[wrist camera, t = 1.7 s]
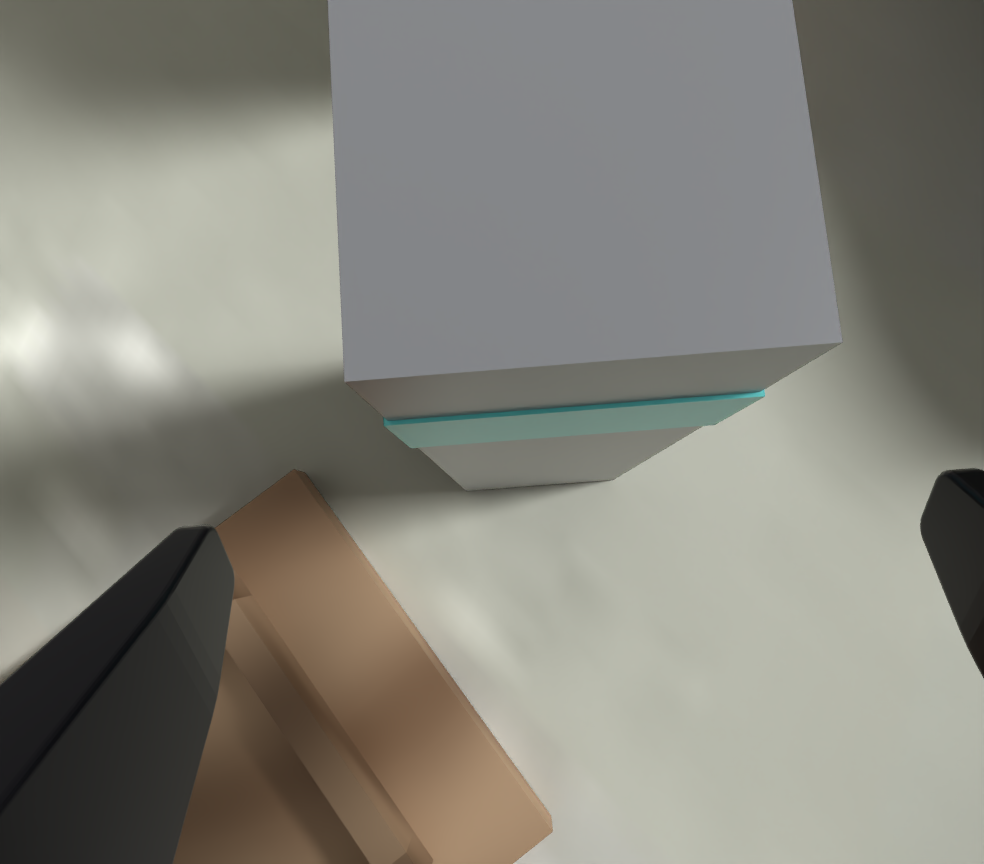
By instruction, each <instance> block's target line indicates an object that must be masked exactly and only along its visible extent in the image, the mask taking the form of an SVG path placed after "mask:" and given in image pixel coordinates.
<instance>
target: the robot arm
mask: <svg viewBox="0 0 984 864" xmlns="http://www.w3.org/2000/svg"><path fill="white" fill-rule="evenodd" d="M920 529H921V535H922V538H923V541H924V544H925V546H926V548H927V551H928V553H929V556H930V558H931V561H932V563H933V566H934V568H935V571H936V573H937V575H938V578H939V580H940V583H941V585H942V588H943V590H944V593H945V595H946V598H947V600H948V603H949V605H950V607H951V610H952V612H953V615H954V617H955V620H956V622H957V625H958V627H959V630H960V632H961V634H962V636H963V638H964V641H965V643H966V645H967V647H968V649H969V651H970V653H971V655H972V657H973V659H974V661H975V663H976V665H977V667H978V669H979V671H980V672H981V674H982V676H983V678H984V471H983V470H981V469H975V468H970V469H956V470H947V471H944V472H942V473H941V474H940V475H939V476H938V477H937V479H936V481H935V483H934V486H933V489H932V491H931V494H930V496H929V499H928V501H927V504H926V507H925V509H924V512H923V514H922V517H921V523H920ZM234 586H235V577H234V571H233V567H232V565H231V562H230V560H229V558H228V555H227V553H226V551H225V548H224V546H223V544H222V541H221V539H220V537H219V534H218V532H217V531H216V529H215V528H214V527H213V526H211V525H195V526H183V527H179V528H178V529H176V530H175V531H173V532H172V533H171V534H170V535H169V536H168V537H166V538H165V539H164V540H163V541H162V542H161V543H160V544H159V545H157V546H156V547H155V548H154V549H153V550H152V551H151V552H149V553H148V554H147V555H146V556H145V557H144V558H143V559H142V560H140V561H139V562H138V563H137V564H136V565H135V566H134V567H133V568H131V569H130V570H129V571H128V572H127V573H126V574H125V575H123V576H122V577H121V578H120V579H119V580H118V581H117V582H116V583H114V584H113V585H112V586H111V587H110V588H109V589H108V590H107V591H105V592H104V593H103V594H102V595H101V596H100V597H99V598H98V599H96V600H95V601H94V602H93V603H92V604H91V605H90V606H88V607H87V608H86V609H85V610H84V611H83V612H82V613H81V614H79V615H78V616H77V617H76V618H75V619H74V620H73V621H72V622H70V623H69V624H68V625H67V626H66V627H65V628H64V629H63V630H61V631H60V632H59V633H58V634H57V635H56V636H55V637H53V638H52V639H51V640H50V641H49V642H48V643H47V644H46V645H44V646H43V647H42V648H41V649H40V650H39V651H38V652H37V653H35V654H34V655H33V656H32V657H31V658H30V659H29V660H28V661H26V662H25V663H24V664H23V665H22V666H21V667H20V668H18V669H17V670H16V671H15V672H14V673H13V674H12V675H11V676H9V677H8V678H7V679H6V680H5V681H4V682H3V683H2V684H0V864H173V861H174V857H175V854H176V850H177V846H178V843H179V839H180V835H181V832H182V828H183V824H184V821H185V817H186V813H187V809H188V806H189V802H190V798H191V795H192V791H193V787H194V784H195V780H196V776H197V772H198V769H199V765H200V761H201V758H202V754H203V750H204V747H205V743H206V739H207V736H208V732H209V728H210V724H211V721H212V717H213V713H214V709H215V705H216V701H217V696H218V691H219V685H220V679H221V673H222V666H223V660H224V653H225V646H226V640H227V633H228V626H229V620H230V613H231V606H232V600H233V593H234Z"/></svg>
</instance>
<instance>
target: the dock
mask: <svg viewBox="0 0 984 864" xmlns="http://www.w3.org/2000/svg"><path fill="white" fill-rule="evenodd" d="M215 529H216V531H217V532H218V534H219V537H220V539H221V541H222V544H223V546H224V548H225V551H226V553H227V555H228V558H229V560H230V562H231V565H232V567H233V571H234V577H235V586H234V593H233V600H232V606H231V613H230V620H229V626H228V633H227V640H226V646H225V653H224V660H223V666H222V673H221V679H220V685H219V691H218V696H217V701H216V705H215V709H214V713H213V717H212V721H211V724H210V728H209V732H208V736H207V739H206V743H205V747H204V750H203V754H202V758H201V761H200V765H199V769H198V772H197V776H196V780H195V784H194V787H193V791H192V795H191V798H190V802H189V806H188V809H187V813H186V817H185V821H184V824H183V828H182V832H181V835H180V839H179V843H178V846H177V850H176V854H175V857H174V861H173V864H513V863H514V862H515V861H517V860H518V859H519V858H520V857H522V856H523V855H524V854H525V853H527V852H528V851H529V850H530V849H532V848H533V847H534V846H535V845H537V844H538V843H539V842H540V841H542V840H543V839H544V838H545V837H547V836H548V835H549V834H550V833H552V832H553V829H552V821H551V815H550V814H549V812H548V811H547V810H546V808H545V807H544V805H543V804H542V803H541V801H540V800H539V798H538V797H537V796H536V794H535V793H534V791H533V790H532V789H531V787H530V786H529V784H528V783H527V782H526V780H525V779H524V777H523V776H522V775H521V773H520V772H519V770H518V769H517V768H516V766H515V765H514V764H513V762H512V761H511V759H510V758H509V757H508V755H507V754H506V752H505V751H504V750H503V748H502V747H501V745H500V744H499V743H498V741H497V740H496V738H495V737H494V736H493V734H492V733H491V731H490V730H489V729H488V727H487V726H486V724H485V723H484V722H483V720H482V719H481V717H480V716H479V715H478V713H477V712H476V710H475V709H474V708H473V706H472V705H471V704H470V702H469V701H468V699H467V698H466V697H465V695H464V694H463V692H462V691H461V690H460V688H459V687H458V685H457V684H456V683H455V681H454V680H453V678H452V677H451V676H450V674H449V673H448V671H447V670H446V669H445V667H444V666H443V664H442V663H441V662H440V660H439V659H438V657H437V656H436V655H435V653H434V652H433V650H432V649H431V648H430V646H429V645H428V644H427V642H426V641H425V639H424V638H423V637H422V635H421V634H420V632H419V631H418V630H417V628H416V627H415V625H414V624H413V623H412V621H411V620H410V618H409V617H408V616H407V614H406V613H405V611H404V610H403V609H402V607H401V606H400V604H399V603H398V602H397V600H396V599H395V597H394V596H393V595H392V593H391V592H390V590H389V589H388V588H387V586H386V585H385V584H384V582H383V581H382V579H381V578H380V577H379V575H378V574H377V572H376V571H375V570H374V568H373V567H372V565H371V564H370V563H369V561H368V560H367V558H366V557H365V556H364V554H363V553H362V551H361V550H360V549H359V547H358V546H357V544H356V543H355V542H354V540H353V539H352V537H351V536H350V535H349V533H348V532H347V530H346V529H345V528H344V526H343V525H342V524H341V522H340V521H339V519H338V518H337V517H336V515H335V514H334V512H333V511H332V510H331V508H330V507H329V505H328V504H327V503H326V501H325V500H324V498H323V497H322V496H321V494H320V493H319V491H318V490H317V489H316V487H315V486H314V484H313V483H312V482H311V480H310V479H309V477H308V476H307V475H306V473H304V472H301V471H298V470H295V469H294V470H292V471H291V472H290V473H288V474H287V475H286V476H284V477H283V478H282V479H280V480H279V481H278V482H276V483H275V484H274V485H272V486H271V487H270V488H268V489H267V490H265V491H264V492H263V493H261V494H260V495H259V496H257V497H256V498H255V499H253V500H252V501H251V502H249V503H248V504H247V505H245V506H244V507H243V508H241V509H240V510H239V511H237V512H236V513H235V514H233V515H232V516H231V517H229V518H228V519H227V520H225V521H224V522H222V523H221V524H220V525H218V526H217V527H216V528H215Z"/></svg>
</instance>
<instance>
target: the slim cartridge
mask: <svg viewBox="0 0 984 864" xmlns="http://www.w3.org/2000/svg"><path fill="white" fill-rule="evenodd" d="M328 19H329V42H330V65H331V88H332V111H333V134H334V157H335V179H336V202H337V225H338V248H339V271H340V294H341V317H342V339H343V362H344V382H345V383H346V384H347V385H349V386H350V387H351V388H352V389H353V390H354V391H355V392H356V393H357V394H359V395H360V396H361V397H362V398H363V399H364V400H365V401H366V402H368V403H369V404H370V405H371V406H372V407H373V408H374V409H375V410H376V411H378V412H379V413H380V414H381V415H382V416H383V421H384V426H385V427H386V428H387V429H388V430H389V431H391V432H392V433H393V434H394V435H395V436H397V437H398V438H399V439H400V440H401V441H403V442H404V443H405V444H406V445H407V446H409V447H410V448H419V449H420V450H421V451H422V452H423V453H424V454H426V455H427V456H428V457H429V458H430V459H431V460H432V461H433V462H435V463H436V464H437V465H438V466H439V467H440V468H441V469H442V470H443V471H445V472H446V473H447V474H448V475H449V476H450V477H451V478H452V479H454V480H455V481H456V482H457V483H458V484H459V485H460V486H461V487H462V488H464V489H465V490H466V491H471V490H484V489H498V488H511V487H524V486H538V485H551V484H564V483H578V482H591V481H604V480H614V479H616V478H617V477H619V476H621V475H622V474H624V473H626V472H627V471H629V470H631V469H632V468H634V467H636V466H637V465H639V464H641V463H642V462H644V461H646V460H647V459H649V458H651V457H652V456H654V455H656V454H657V453H659V452H661V451H662V450H664V449H666V448H667V447H669V446H671V445H672V444H674V443H676V442H677V441H679V440H681V439H682V438H684V437H686V436H687V435H689V434H691V433H692V432H694V431H696V430H697V429H699V428H701V427H702V426H708V425H716V424H717V423H719V422H721V421H723V420H724V419H726V418H728V417H730V416H731V415H733V414H735V413H737V412H738V411H740V410H742V409H744V408H745V407H747V406H749V405H751V404H752V403H754V402H756V401H758V400H759V399H761V398H763V397H765V392H764V389H766V388H767V387H769V386H771V385H772V384H774V383H776V382H777V381H779V380H781V379H782V378H784V377H786V376H787V375H789V374H791V373H792V372H794V371H796V370H797V369H799V368H801V367H802V366H804V365H806V364H807V363H809V362H811V361H812V360H814V359H816V358H817V357H819V356H821V355H822V354H824V353H826V352H827V351H829V350H831V349H832V348H834V347H836V346H837V345H839V344H841V343H842V342H843V341H842V334H841V328H840V321H839V314H838V307H837V300H836V294H835V287H834V280H833V273H832V267H831V260H830V253H829V246H828V239H827V233H826V226H825V219H824V212H823V206H822V199H821V192H820V185H819V178H818V172H817V165H816V158H815V151H814V145H813V138H812V131H811V124H810V117H809V111H808V104H807V97H806V90H805V84H804V77H803V70H802V63H801V56H800V50H799V43H798V36H797V29H796V23H795V16H794V9H793V2H792V0H328Z"/></svg>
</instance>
